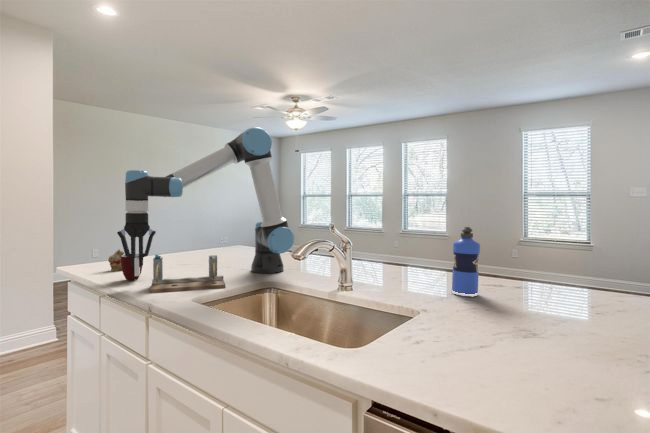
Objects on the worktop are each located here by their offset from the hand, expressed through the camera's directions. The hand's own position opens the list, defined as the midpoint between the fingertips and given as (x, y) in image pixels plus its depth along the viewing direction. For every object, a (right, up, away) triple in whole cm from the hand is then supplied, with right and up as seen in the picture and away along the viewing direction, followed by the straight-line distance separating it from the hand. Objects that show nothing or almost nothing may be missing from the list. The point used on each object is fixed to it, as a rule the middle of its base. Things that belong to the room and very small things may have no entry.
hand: (137, 275), depth 135 cm
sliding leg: (+7, -2, 0) cm, 8 cm away
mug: (-8, -4, +12) cm, 15 cm away
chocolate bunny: (-25, -3, +32) cm, 40 cm away
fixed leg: (+26, -2, +7) cm, 27 cm away
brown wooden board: (+18, -5, +4) cm, 19 cm away
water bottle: (+122, -7, 0) cm, 122 cm away
